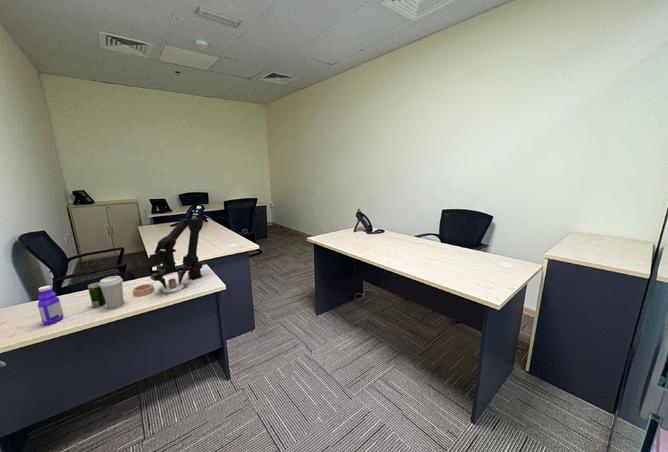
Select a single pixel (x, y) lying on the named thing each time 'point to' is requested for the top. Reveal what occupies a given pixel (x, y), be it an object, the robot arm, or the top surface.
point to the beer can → (96, 295)
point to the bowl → (143, 290)
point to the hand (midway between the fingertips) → (172, 286)
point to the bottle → (49, 305)
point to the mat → (172, 292)
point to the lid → (172, 286)
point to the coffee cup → (112, 291)
